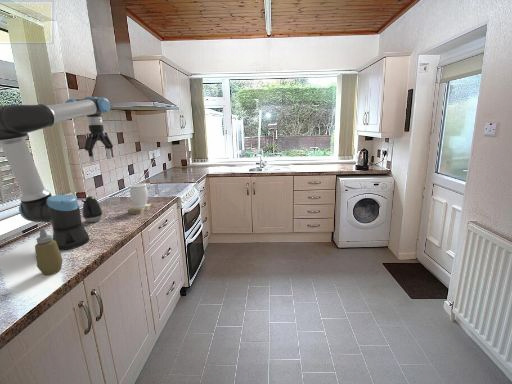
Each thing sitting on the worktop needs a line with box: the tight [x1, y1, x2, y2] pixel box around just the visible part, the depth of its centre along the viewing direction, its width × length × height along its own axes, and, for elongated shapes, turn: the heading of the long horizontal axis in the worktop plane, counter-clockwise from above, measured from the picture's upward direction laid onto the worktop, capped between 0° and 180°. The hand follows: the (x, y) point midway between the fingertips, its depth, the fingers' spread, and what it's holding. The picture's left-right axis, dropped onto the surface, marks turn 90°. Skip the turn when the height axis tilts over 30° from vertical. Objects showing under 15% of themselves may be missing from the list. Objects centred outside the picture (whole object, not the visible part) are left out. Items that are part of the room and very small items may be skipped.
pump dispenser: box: [81, 195, 103, 223], centre depth 162 cm, size 10×10×15 cm
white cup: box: [128, 182, 149, 208], centre depth 180 cm, size 11×10×15 cm
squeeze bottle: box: [34, 227, 63, 276], centre depth 105 cm, size 8×8×18 cm
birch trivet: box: [127, 203, 154, 215], centre depth 182 cm, size 14×9×2 cm, turn 168°
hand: (101, 160), depth 166 cm, fingers open, 13 cm apart
